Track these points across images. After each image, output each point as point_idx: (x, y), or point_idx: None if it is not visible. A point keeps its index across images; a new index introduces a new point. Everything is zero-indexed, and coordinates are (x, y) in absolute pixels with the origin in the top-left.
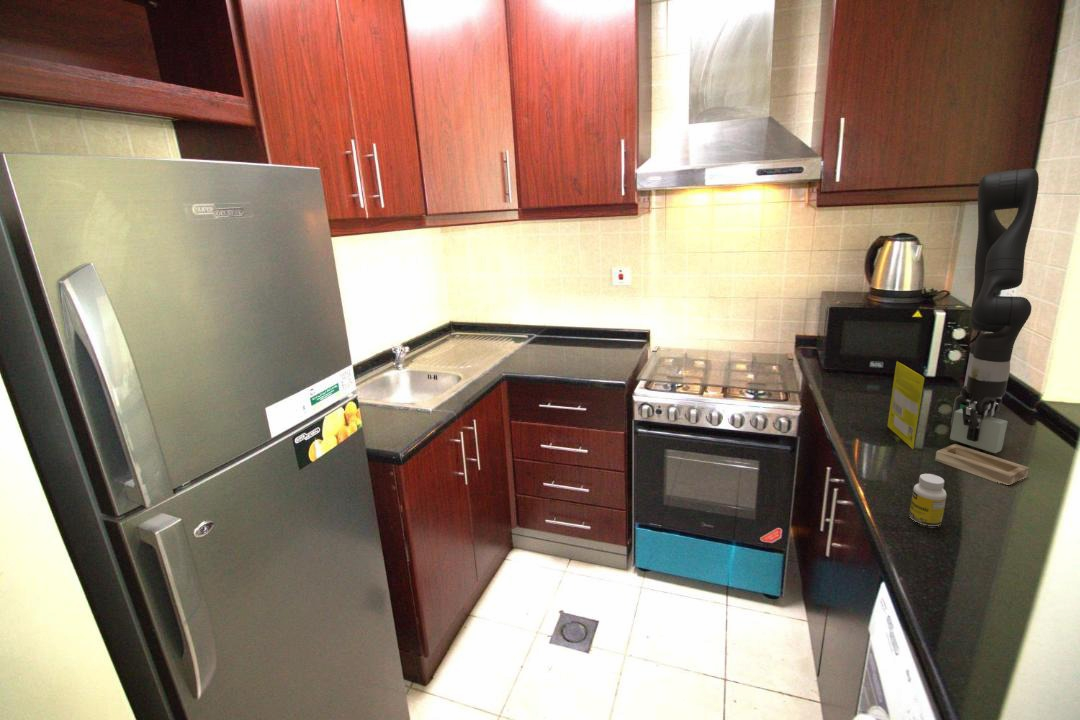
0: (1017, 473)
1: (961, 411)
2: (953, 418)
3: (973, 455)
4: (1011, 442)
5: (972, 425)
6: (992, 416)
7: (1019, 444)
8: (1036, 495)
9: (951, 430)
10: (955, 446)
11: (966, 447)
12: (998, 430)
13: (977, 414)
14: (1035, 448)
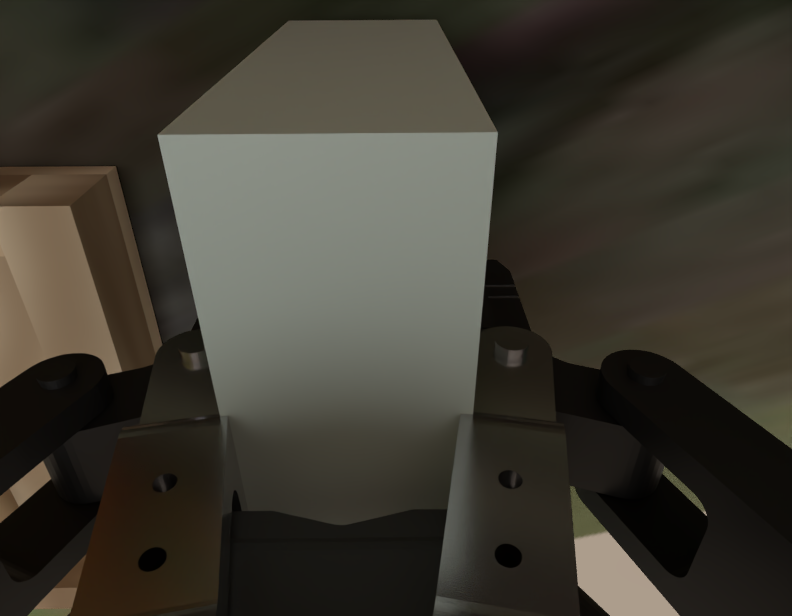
0: (52, 605)
1: (285, 241)
2: (219, 83)
3: None
4: (784, 299)
5: (51, 480)
6: (604, 509)
7: (774, 342)
8: (61, 612)
9: (266, 42)
10: (11, 244)
11: (102, 305)
12: None
13: (389, 462)
14: (756, 416)
